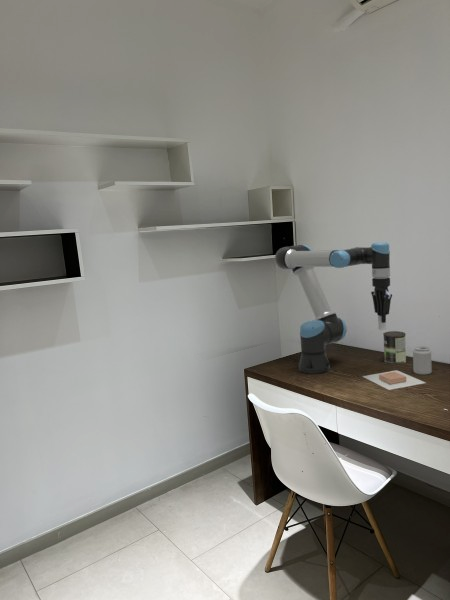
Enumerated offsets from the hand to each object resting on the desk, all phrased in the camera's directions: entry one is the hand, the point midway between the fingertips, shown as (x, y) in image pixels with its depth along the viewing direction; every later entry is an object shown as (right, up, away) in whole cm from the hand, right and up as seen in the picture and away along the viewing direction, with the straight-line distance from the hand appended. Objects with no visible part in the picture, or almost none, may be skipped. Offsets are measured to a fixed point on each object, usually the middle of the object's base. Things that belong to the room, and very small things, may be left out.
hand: (382, 329), depth 208 cm
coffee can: (+13, -17, +21) cm, 30 cm away
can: (+18, -20, 0) cm, 27 cm away
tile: (+1, -20, -5) cm, 21 cm away
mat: (+2, -22, -7) cm, 23 cm away
